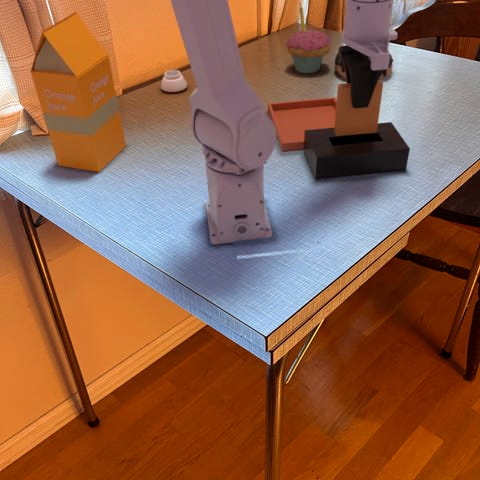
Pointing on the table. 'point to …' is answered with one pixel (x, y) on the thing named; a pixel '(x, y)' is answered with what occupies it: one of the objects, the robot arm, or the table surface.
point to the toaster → (355, 152)
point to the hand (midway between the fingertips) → (358, 104)
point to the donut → (341, 69)
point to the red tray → (301, 119)
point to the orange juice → (77, 96)
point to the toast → (356, 112)
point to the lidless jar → (173, 81)
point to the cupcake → (308, 47)
